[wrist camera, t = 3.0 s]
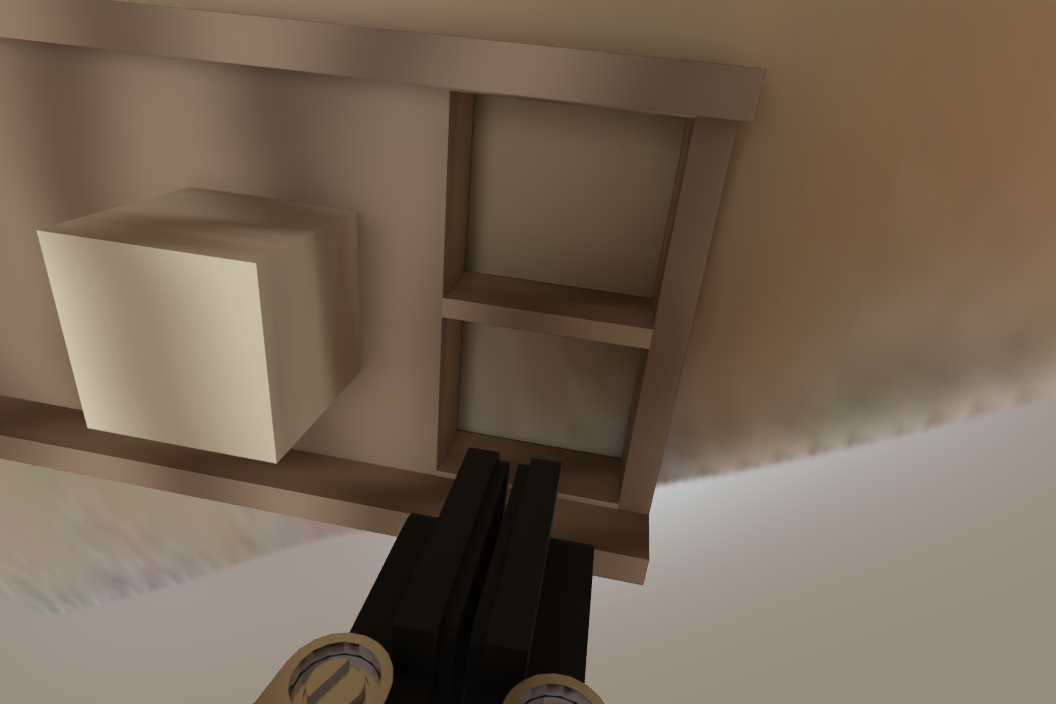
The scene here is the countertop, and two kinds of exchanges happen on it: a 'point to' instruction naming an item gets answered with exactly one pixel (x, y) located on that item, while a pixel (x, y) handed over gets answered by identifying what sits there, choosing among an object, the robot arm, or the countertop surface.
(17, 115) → the wooden tray
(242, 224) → the beech block
